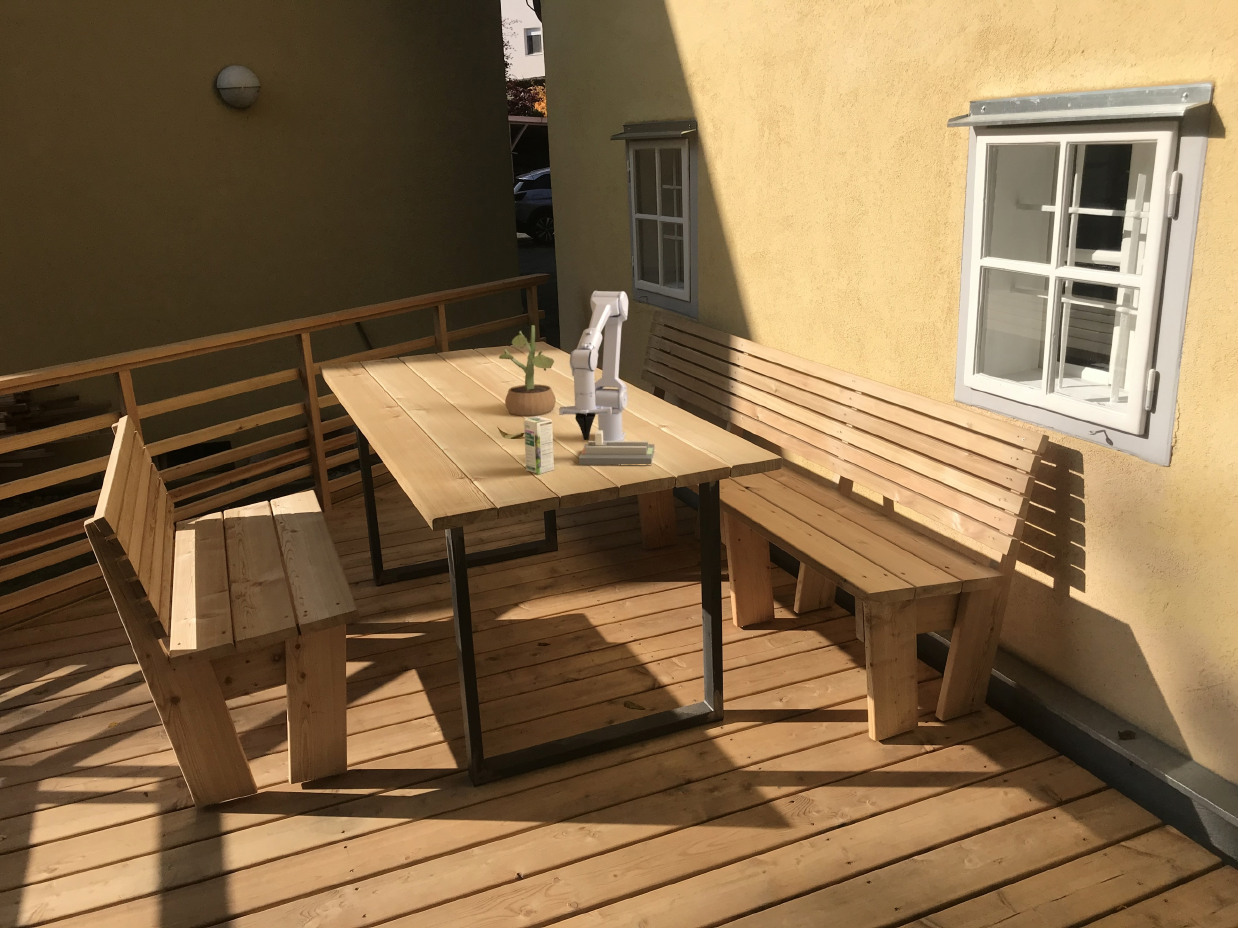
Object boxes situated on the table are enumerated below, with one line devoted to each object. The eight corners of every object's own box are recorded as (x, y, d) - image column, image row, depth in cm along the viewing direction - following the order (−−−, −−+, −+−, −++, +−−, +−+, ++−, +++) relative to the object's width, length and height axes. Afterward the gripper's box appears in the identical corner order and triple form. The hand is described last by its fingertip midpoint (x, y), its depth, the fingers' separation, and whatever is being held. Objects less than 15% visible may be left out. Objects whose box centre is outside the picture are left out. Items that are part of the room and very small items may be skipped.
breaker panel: (585, 450, 286) (585, 437, 285) (654, 450, 284) (654, 437, 282) (579, 465, 272) (578, 451, 271) (651, 465, 270) (650, 451, 269)
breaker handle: (593, 448, 280) (592, 430, 278) (607, 448, 279) (606, 430, 278) (591, 452, 277) (591, 433, 275) (605, 452, 276) (605, 433, 275)
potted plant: (496, 408, 337) (491, 321, 328) (547, 403, 343) (542, 317, 334) (515, 424, 317) (510, 331, 308) (568, 417, 323) (564, 326, 314)
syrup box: (525, 470, 269) (522, 419, 264) (541, 465, 273) (539, 415, 268) (538, 474, 265) (535, 422, 261) (555, 470, 269) (552, 418, 264)
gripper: (556, 395, 270) (558, 443, 274) (609, 395, 269) (610, 443, 273) (560, 389, 277) (562, 436, 281) (611, 389, 275) (613, 436, 279)
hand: (586, 439), depth 277 cm, fingers closed
